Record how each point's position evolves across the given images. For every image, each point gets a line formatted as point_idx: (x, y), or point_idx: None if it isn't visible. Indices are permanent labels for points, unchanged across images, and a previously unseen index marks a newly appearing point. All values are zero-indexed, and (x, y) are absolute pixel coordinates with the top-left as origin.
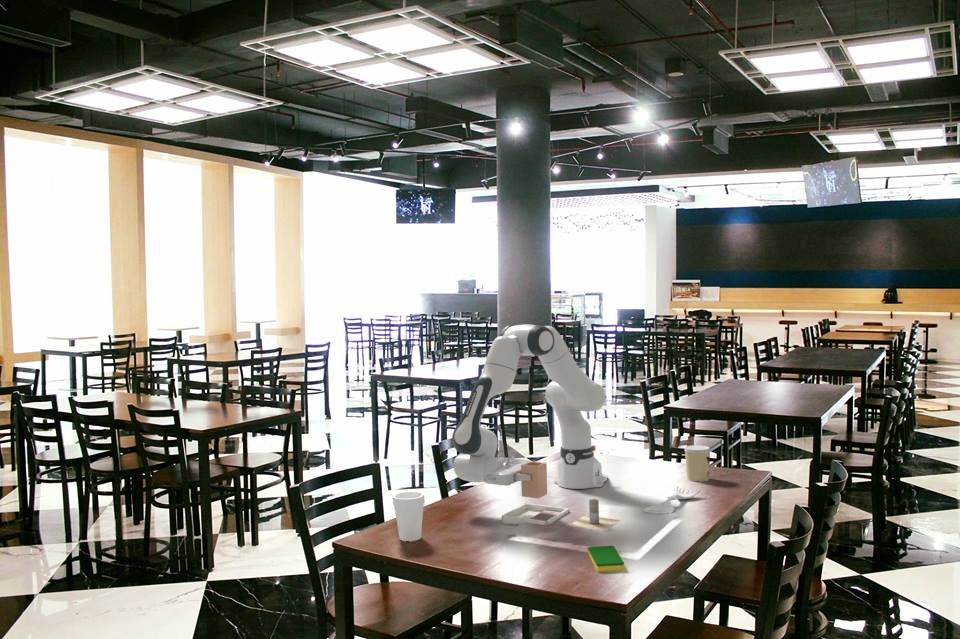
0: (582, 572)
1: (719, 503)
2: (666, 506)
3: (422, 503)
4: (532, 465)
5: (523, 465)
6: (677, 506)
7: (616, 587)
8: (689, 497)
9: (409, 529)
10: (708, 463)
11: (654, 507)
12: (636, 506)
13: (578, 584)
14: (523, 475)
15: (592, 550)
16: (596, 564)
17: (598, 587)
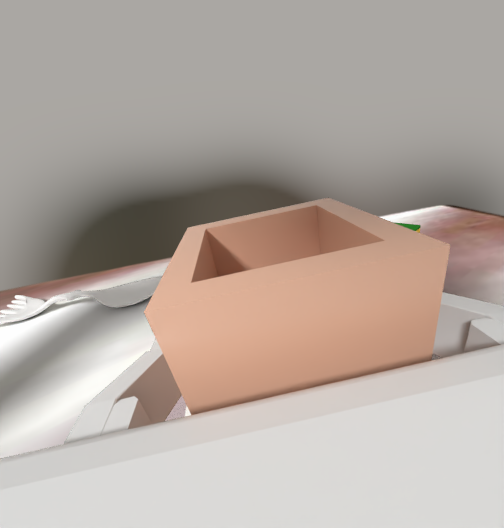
0: (443, 237)
1: (72, 283)
2: (114, 291)
3: None
4: (333, 212)
5: (416, 235)
6: (85, 302)
7: (426, 216)
8: (44, 301)
9: None
10: None
11: (115, 301)
12: (78, 340)
13: (472, 225)
14: (441, 299)
15: None
16: (419, 227)
17: (448, 219)
